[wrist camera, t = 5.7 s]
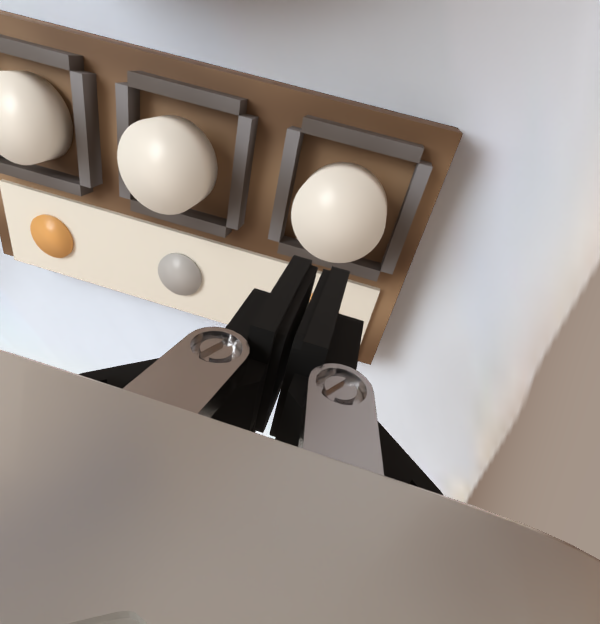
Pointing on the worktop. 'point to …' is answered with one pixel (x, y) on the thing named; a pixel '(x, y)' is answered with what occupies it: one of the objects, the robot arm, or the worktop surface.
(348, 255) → the button
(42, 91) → the button
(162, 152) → the button middle
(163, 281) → the pattern card
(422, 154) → the button board
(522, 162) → the worktop surface
